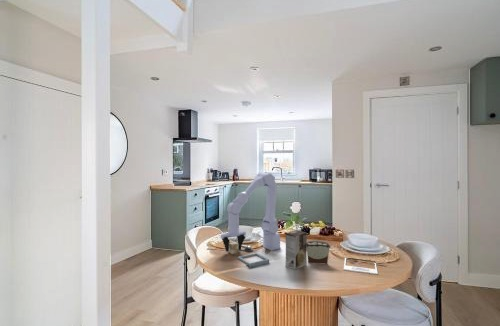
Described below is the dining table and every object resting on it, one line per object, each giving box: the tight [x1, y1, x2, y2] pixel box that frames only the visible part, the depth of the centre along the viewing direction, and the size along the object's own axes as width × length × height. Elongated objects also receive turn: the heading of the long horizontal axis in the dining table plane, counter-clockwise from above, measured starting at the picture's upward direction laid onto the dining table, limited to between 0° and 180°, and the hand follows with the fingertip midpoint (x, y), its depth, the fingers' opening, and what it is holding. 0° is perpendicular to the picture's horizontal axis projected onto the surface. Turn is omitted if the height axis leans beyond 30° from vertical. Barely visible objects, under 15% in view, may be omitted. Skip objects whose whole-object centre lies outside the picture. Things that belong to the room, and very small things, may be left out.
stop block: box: [227, 241, 239, 255], centre depth 156 cm, size 4×4×5 cm
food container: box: [307, 240, 331, 265], centre depth 146 cm, size 12×6×10 cm, turn 84°
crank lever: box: [232, 236, 253, 249], centre depth 162 cm, size 12×3×5 cm, turn 62°
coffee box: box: [285, 230, 308, 271], centre depth 140 cm, size 9×6×16 cm
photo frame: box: [343, 257, 379, 275], centre depth 140 cm, size 15×1×18 cm
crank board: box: [222, 247, 257, 256], centre depth 160 cm, size 15×13×2 cm
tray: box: [237, 252, 271, 269], centre depth 144 cm, size 12×12×2 cm
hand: (233, 249), depth 156 cm, fingers open, 7 cm apart
